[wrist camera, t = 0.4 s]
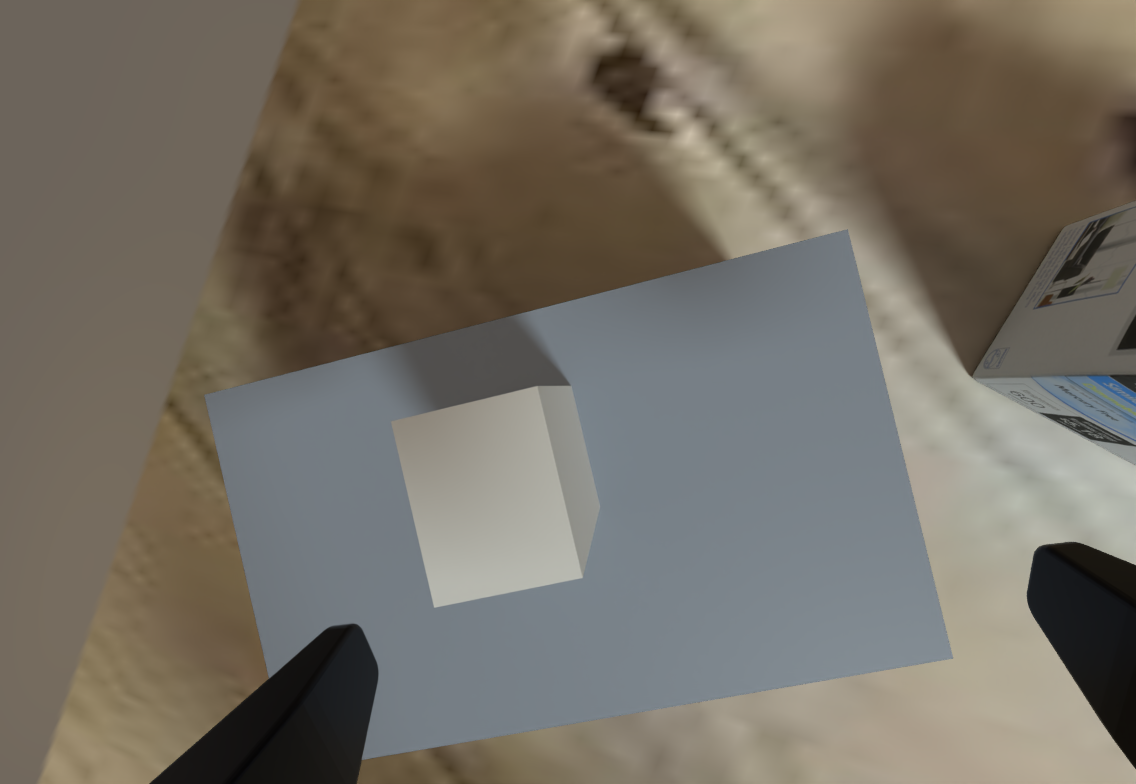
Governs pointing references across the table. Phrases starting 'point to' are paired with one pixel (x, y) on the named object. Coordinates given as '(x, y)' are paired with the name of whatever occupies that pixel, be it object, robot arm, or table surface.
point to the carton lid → (592, 504)
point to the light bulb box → (1077, 335)
